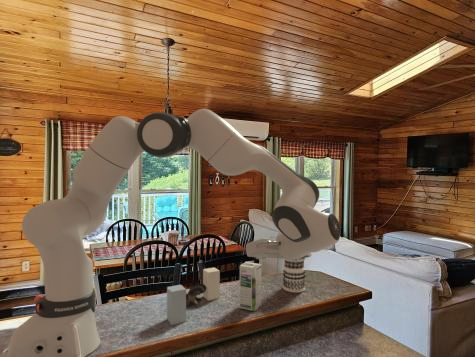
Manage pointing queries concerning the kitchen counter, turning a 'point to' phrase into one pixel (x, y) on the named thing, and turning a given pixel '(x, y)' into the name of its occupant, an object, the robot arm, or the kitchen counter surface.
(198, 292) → the brown animal figure
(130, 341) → the kitchen counter surface
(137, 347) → the kitchen counter surface
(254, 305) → the syrup box
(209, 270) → the cream block
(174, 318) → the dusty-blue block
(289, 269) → the decorative candle
